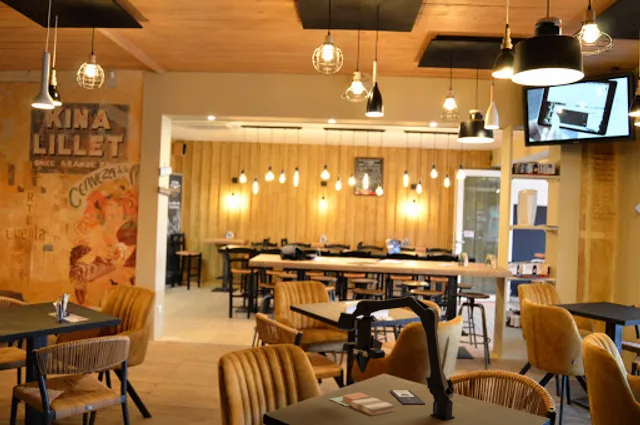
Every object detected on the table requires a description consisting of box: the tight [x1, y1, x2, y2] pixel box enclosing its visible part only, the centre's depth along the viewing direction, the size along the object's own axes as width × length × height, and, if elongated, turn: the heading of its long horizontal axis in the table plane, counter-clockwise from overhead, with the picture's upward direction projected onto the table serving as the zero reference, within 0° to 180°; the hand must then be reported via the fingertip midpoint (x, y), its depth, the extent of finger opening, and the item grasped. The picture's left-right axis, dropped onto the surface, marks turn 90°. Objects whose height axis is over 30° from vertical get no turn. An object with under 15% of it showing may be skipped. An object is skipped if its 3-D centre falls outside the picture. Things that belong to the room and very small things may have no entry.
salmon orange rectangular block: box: [342, 392, 371, 404], centre depth 238 cm, size 6×9×2 cm, turn 128°
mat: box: [329, 395, 351, 407], centre depth 240 cm, size 10×15×1 cm, turn 128°
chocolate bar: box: [389, 389, 426, 406], centre depth 248 cm, size 9×1×18 cm
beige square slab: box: [350, 396, 395, 416], centre depth 231 cm, size 12×11×2 cm
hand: (362, 372), depth 238 cm, fingers closed
